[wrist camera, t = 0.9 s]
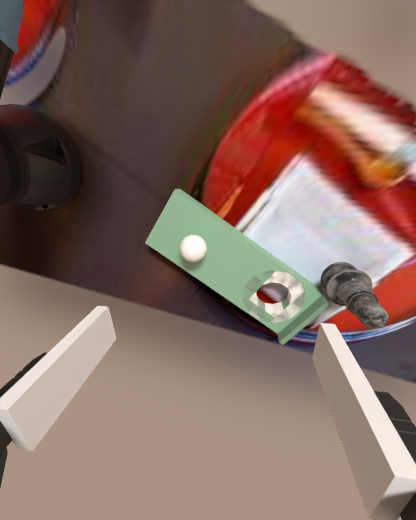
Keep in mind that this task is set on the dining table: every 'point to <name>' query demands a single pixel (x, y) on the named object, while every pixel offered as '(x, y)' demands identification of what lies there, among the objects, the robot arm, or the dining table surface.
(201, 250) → the ball
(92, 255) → the dining table surface
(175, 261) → the green flat block
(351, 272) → the dark grey figurine
